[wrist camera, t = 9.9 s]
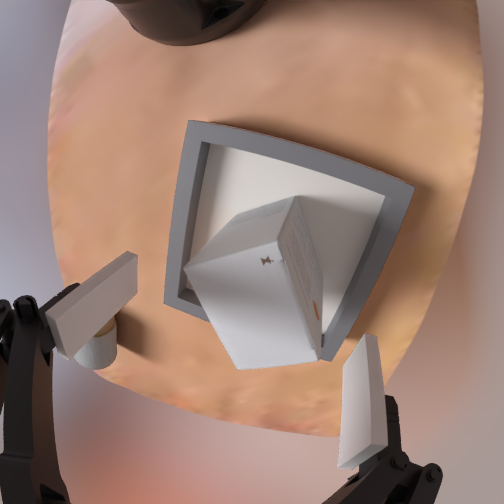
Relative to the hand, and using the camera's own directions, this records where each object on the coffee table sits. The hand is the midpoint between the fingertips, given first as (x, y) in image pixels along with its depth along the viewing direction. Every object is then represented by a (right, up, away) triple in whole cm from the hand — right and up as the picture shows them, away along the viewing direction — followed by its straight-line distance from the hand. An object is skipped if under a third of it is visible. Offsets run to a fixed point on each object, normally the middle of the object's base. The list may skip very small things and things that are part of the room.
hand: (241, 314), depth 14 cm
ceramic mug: (-23, -7, +24) cm, 34 cm away
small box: (+3, +4, +10) cm, 11 cm away
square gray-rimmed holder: (+3, +5, +11) cm, 13 cm away
